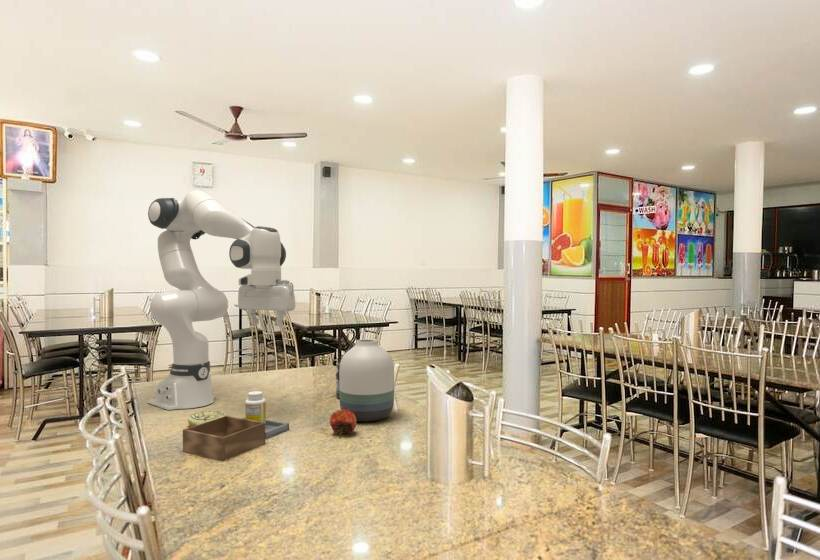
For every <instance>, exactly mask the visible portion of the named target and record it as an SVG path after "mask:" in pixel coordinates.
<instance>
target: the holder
mask: <svg viewBox="0 0 820 560" xmlns="http://www.w3.org/2000/svg"><path fill="white" fill-rule="evenodd" d="M242 418H243V417H242ZM242 418H241V417H235V416H230V415H226V416H224V417H221V418H218V419H214V420H211V421H208V422H205V423H202V424H199V425H196V426H193V427H190V426H189V427H188V428H187V427H186V428H184V429H182V452H183V451H184V452H185V453H188V454H193V455H196V456H200V455H201V456H200V457H205V458H209V459H213V460H217V461H222V462H224V461H227V460H229V459H231V458H233V457H236V456H238V455H241V454H244V453H246V452H249V451H251V450H253V449H255V448H258V447H260V446H263V445H265V444H266V440H265V423H264V422H258V421H253V420H247V419H242ZM184 452H183V453H184Z"/></svg>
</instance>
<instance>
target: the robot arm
mask: <svg viewBox="0 0 820 560" xmlns="http://www.w3.org/2000/svg"><path fill="white" fill-rule="evenodd" d="M147 215H148V216H147V217H148V221H149V223H150V224H151V225H152V226H154V227H156V228H159V229H162V230H164V229H165V230H164V231H162V232H161V233H160V234H159V235H158V237H157V252H158V258H159V262H160V266H161V269H162V273H163V277H164V280H165V281H166V282H167V284H168V285H170V286H172V287H174V288H176V290H175V289H174V290H167V291H163V292H157V293H156V294H155V295H154V296H153V297H152V298H151V301H150V303H149V311H150V314H151V316H152V318H153V319H154V320H155V321H156V322H158V323H159V324H160V325H162V326H163V328H165V330H166V331H167V332H168V334H169V336H170V339H171V342H172V355H173V362H172V364H168V365H167V366H169V367H168V369H170V370H169V374H168V375H167V376H166V377H165V378H164V379H163V380H162V381H160V382H159V383H158V384H157V386H156V389H155V397H152V398H150V399H148V400H147V401H148V404H150V405H153V406H154V407H155V406H156V407H158V408H161V409H164V410H168V411H172V410H184V409H193V408H201V407H205V406H209V405H211V404H213V403H214V402H215V394H214V393H213V385H212V377H211V375H210V371H211V361H210V360H209V340H208V339H207V337H206V336H205V335H204V334H202V333H201V332H198V331H196V330H195V329H194V326H193V323H194V322H208V321H213V320H216V319H220V318H223V317H224V316H225V315H226V313H227V312H228V309H229V300H228V298H227V296H226V294H225V293H224V292H223V291H221V290H219V289H217V288H215V287H214V286H213V285H211V284H210V283H209V282H208V281H207V280H206V279H205V278H204V276H203V275H202V274H201V272H200V270H199V267H198V265H197V262H196V259H195V256H194V252H193V250H192V246H191V239H192V240H198V239H200V238H201V236H204V235H205V234H207V235H210V236H213V237H220V238H227V239H234V241H233V242H232V243H231V245H230V247H229V252H228V256H229V260H230V261H231V264H233V266H234V267H235V268H238V269H244V270H250V272H251V273H248V274H247V275H245V276H242V277H240V278H238V285H239V288H238V291H237V304H238V306H239V309H240V310H247V314H248V316H249V317H250V320H251V321H250V323H251V325H258V324H260V323H259V322H260V319H259V317H257V315H256V313H257V311H275V312H276V315H278V316H277V318H276V319H274V326H276V327H281V326H282V325H283V320H284V318H285V315H286V312H292V311H294V310H295V308H296V298H295V297H296V296H295V295H296V294H295V291H294V284H293V283H292V281H291V280H289V279H282V266H283V264H284V262H286V259H287V250H286V248H285V246H284V244H283V243H282V242H281V235H280V233H279V230H277V229H276V228H273V227H267V226H254V225H252V224H251V223H250V222H248V221H247V220H245V219H243V218H242V217H240V216H238V215H237V214H235V213H234V212H233V211H231V210H230V209H228V208H227V207H226V206H225V205H223V204H222V203H221V202H220V201H219V200H218V199H216V198H215V197H214V196H212V195H211V194H209V193H208V192H205V191H203V190H201V189H200V190H199V189H198V190H197V189H195V190H192V191H190V192H188V193H187V194H186V195H185V196H184V198H183V199H182V200H179V199H176V198H175V197H159V198H156V199H154V200H153V201H152V202H151V203H150V205H149V207H148V212H147Z"/></svg>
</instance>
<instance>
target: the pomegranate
mask: <svg viewBox="0 0 820 560" xmlns="http://www.w3.org/2000/svg"><path fill="white" fill-rule="evenodd" d="M329 426H330V427H331V428H332V431H333V432H334V433H335V434H339V440H340V439H341V436H342V434H346V435H347V434H351V433H353V432H354V431H355V429H356V426H357V421H356V417H355V414H354V413H353V412H351V411H349V410H348V409H346V408H345V409H342V410H341V409H339V410H336V411H333V412H332V413H331V415H330V418H329Z"/></svg>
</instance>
